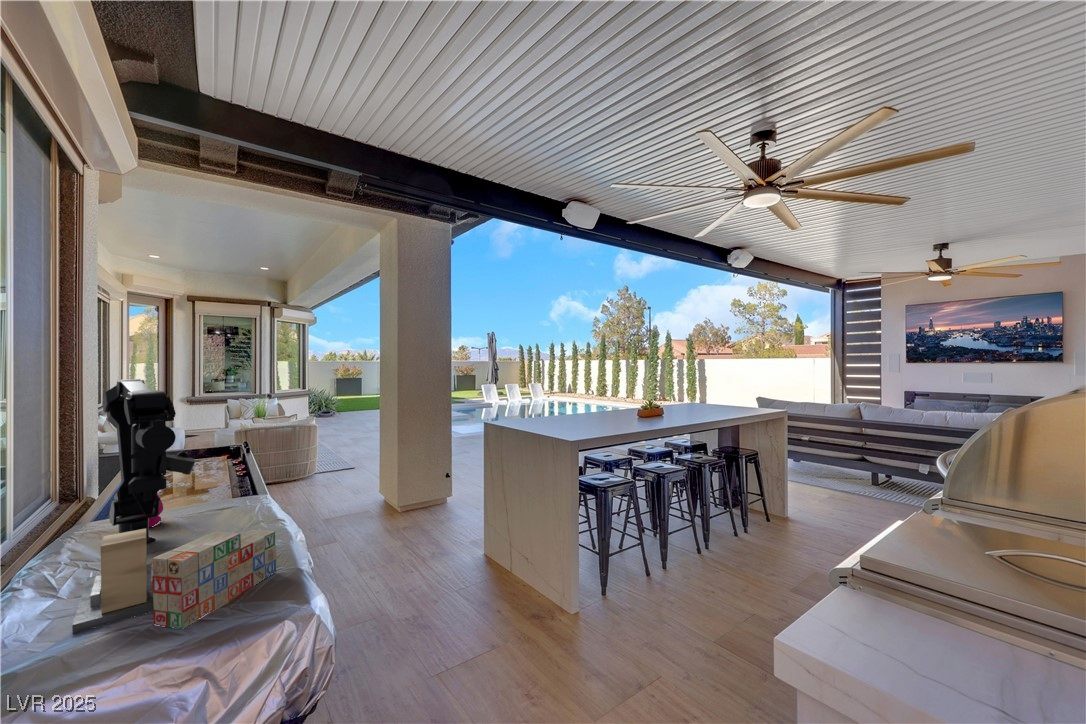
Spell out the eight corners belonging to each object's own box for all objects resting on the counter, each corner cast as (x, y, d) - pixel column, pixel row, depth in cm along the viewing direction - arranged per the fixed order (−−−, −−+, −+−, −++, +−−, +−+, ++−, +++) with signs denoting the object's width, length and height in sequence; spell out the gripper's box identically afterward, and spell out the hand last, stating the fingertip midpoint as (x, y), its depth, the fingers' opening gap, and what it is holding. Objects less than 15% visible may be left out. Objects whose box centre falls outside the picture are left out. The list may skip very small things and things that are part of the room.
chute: (87, 584, 94) (87, 568, 94) (169, 566, 103) (168, 550, 103) (72, 633, 78) (72, 613, 78) (171, 606, 86) (170, 588, 86)
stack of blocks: (252, 571, 101) (251, 515, 101) (276, 573, 100) (276, 517, 99) (152, 627, 80) (151, 556, 80) (182, 631, 79) (181, 559, 78)
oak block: (104, 600, 85) (103, 536, 85) (146, 589, 89) (146, 528, 89) (101, 613, 81) (100, 546, 81) (146, 601, 85) (145, 537, 85)
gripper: (194, 448, 103) (195, 517, 103) (190, 437, 117) (190, 498, 117) (127, 455, 96) (128, 529, 96) (131, 442, 110) (132, 507, 110)
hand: (148, 514), depth 105 cm, fingers closed
